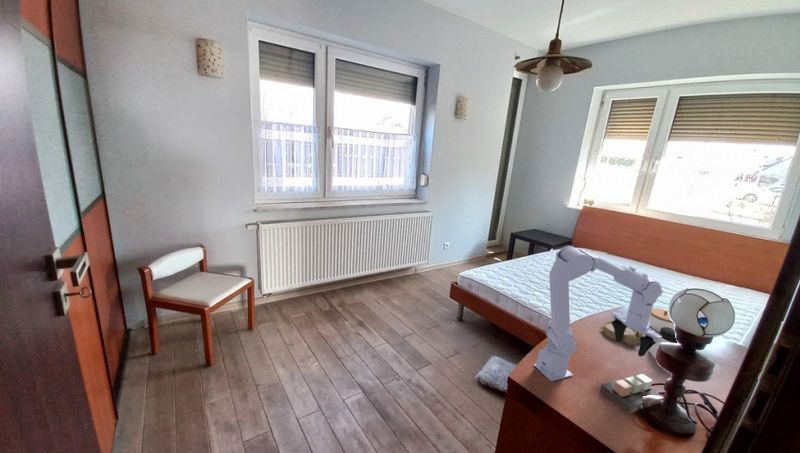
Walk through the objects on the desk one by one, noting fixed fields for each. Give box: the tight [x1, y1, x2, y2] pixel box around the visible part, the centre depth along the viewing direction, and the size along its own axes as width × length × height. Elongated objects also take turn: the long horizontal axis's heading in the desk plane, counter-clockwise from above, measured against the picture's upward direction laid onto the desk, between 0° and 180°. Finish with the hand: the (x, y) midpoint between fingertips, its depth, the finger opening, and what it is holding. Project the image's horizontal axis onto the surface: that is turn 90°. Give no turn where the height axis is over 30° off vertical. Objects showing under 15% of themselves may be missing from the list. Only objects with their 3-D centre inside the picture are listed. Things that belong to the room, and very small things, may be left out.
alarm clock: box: [600, 321, 645, 346], centre depth 126 cm, size 11×5×15 cm
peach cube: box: [613, 379, 632, 397], centre depth 92 cm, size 3×3×3 cm
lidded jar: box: [648, 307, 674, 333], centre depth 132 cm, size 11×11×9 cm
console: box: [599, 375, 661, 415], centre depth 95 cm, size 14×9×3 cm, turn 108°
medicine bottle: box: [647, 327, 677, 359], centre depth 113 cm, size 7×7×12 cm
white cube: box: [634, 373, 653, 391], centre depth 95 cm, size 3×3×3 cm
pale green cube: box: [625, 376, 642, 394], centre depth 94 cm, size 3×3×3 cm
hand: (629, 348), depth 102 cm, fingers open, 7 cm apart
